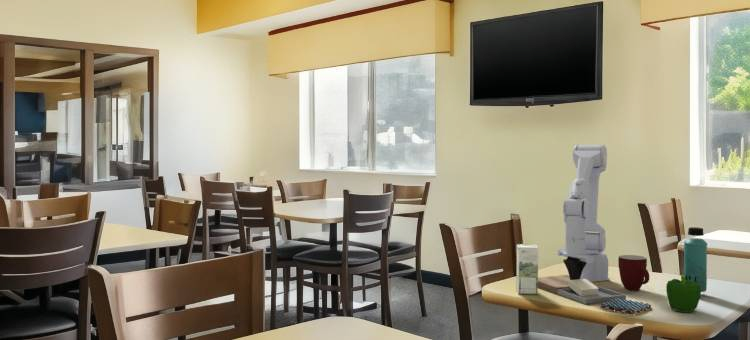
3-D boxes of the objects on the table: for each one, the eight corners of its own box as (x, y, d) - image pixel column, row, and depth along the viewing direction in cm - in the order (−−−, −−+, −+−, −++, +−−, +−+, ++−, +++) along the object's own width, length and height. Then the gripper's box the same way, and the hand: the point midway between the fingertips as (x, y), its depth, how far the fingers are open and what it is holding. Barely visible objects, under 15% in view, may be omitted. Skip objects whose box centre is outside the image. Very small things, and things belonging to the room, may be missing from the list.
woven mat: (597, 310, 180) (597, 303, 180) (617, 304, 187) (617, 296, 187) (634, 318, 172) (634, 310, 172) (653, 311, 179) (653, 303, 179)
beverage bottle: (705, 293, 197) (706, 226, 196) (708, 298, 191) (709, 229, 190) (681, 291, 199) (682, 225, 198) (683, 296, 193) (684, 228, 192)
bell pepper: (674, 304, 184) (674, 269, 183) (704, 310, 178) (705, 273, 177) (660, 310, 178) (660, 273, 178) (691, 316, 172) (691, 278, 172)
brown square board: (566, 280, 215) (566, 274, 215) (595, 290, 202) (595, 283, 202) (529, 284, 210) (529, 278, 210) (556, 294, 197) (556, 287, 197)
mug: (659, 292, 199) (659, 259, 198) (640, 295, 195) (641, 261, 194) (630, 285, 208) (630, 254, 207) (612, 288, 204) (612, 256, 203)
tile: (584, 284, 201) (585, 278, 200) (597, 294, 195) (598, 288, 195) (568, 286, 198) (569, 280, 198) (580, 296, 193) (581, 290, 193)
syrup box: (535, 290, 202) (535, 243, 201) (538, 295, 196) (538, 246, 195) (516, 290, 202) (516, 243, 202) (518, 294, 197) (518, 246, 196)
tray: (595, 290, 202) (595, 285, 202) (625, 300, 190) (626, 294, 189) (557, 294, 197) (557, 289, 197) (585, 304, 185) (585, 299, 185)
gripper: (549, 235, 205) (549, 279, 205) (579, 242, 191) (579, 289, 192) (568, 234, 207) (568, 277, 208) (599, 241, 194) (599, 286, 194)
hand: (574, 282), depth 200 cm, fingers closed
